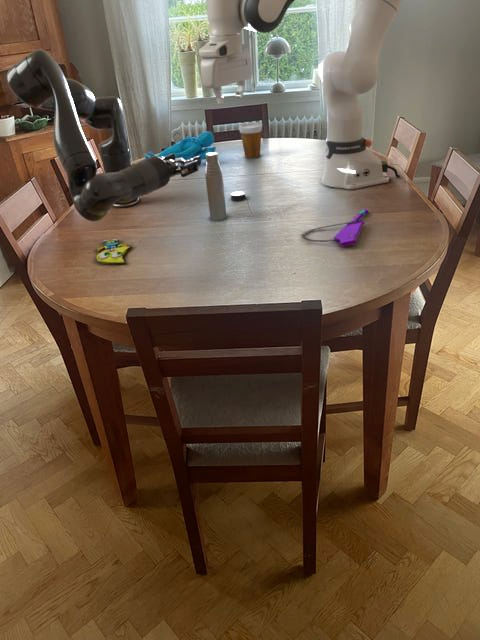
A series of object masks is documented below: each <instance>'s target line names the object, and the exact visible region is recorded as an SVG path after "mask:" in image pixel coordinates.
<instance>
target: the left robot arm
mask: <svg viewBox="0 0 480 640" xmlns="http://www.w3.org/2000/svg"><path fill="white" fill-rule="evenodd" d="M6 82H7V85H8V87H9V90H10V91H11V92H12V93H13V95H14V96H15V97H16V98H17V99H19V100H20V101H21V102H23V103H24V104H26V105H27V106H28V107H31V108H35V109H39V110H46V111H52V112H54V115H53V116H54V117H53V118H54V119H53V131H52V141H53V146H54V150H55V153H56V155H57V157H58V159H59V161H60V163H61V165H62V168H63V170H64V172H65V175H66V178H67V184H68V192H69V193H70V198H71V200H72V204H73V206H74V208H75V210H76V211H77V213H78V214H79V215H80V216H81V217H82V218H83V219H85V220H86V221H90V222H92V223H93V222H100V221H101V220H103V219H104V218H105V217H106V215H108V213H109V212H110V210H111V209H112V208H113V207H114V208H128V207H132V206H134V205H137V204H138V203H140V197H144V196H147V195H149V194H152V193H153V192H155V191H157V190H159V189H162V188H163V187H165V186H166V185H168V184H169V182H170V179H171V178H173V177H174V178H175V177H176V176H179V175H180V177H181V178H186V177H187V176H190V175H192V174H195V173H197V172H199V166H201V165H202V164H203V163H202V160H201V157H200V156H196V157H194V158H192V159H189V160H183V158H175V154H170V155H167V156H165V157H162V156H161V157H157V156H158V155H157V156H156V155H155V156H152V157H150V156H149V158H147V159H145V158H144V159H142V160H139V161H137V162H134V163H133V162H132V158H131V154H130V148H129V142H128V135H127V130H126V123H125V114H124V109H123V105H122V103H121V100H120V99H119V97H117V96H115V95H113V96H99V97H98V96H97V97H96V96H94V94H93V92H92V91H91V90H90V88H89V87H87V86H86V85H85V84H83V83H81V82H80V81H78V80H75V79H73V78H68V77H67V78H66V76H65V74H64V72H63V70H62V69H61V67H60V65H59V64H58V63H57V61H56V59H54V57H53V56H52V55H51V54H50V53H49V52H47V51H46V50H45V49H42V48H37V49H35V50H33V51H31V52H30V53H28V54H27V55H25V56H24V57H23V58H21V59H20V60H18V61H17V62H16V63H14V64H13V65H12V66H11V67H10V68H9V69H8V71H7V73H6ZM80 122H82V123H84V124H85V125H87V126H88V127H90V128H91V129H93V130H97V131H105V130H106V131H107V130H112V135H111V136H110V137H108V138H107V139H105V140H103V141H101V142H100V143H99V144H98V150H99V155H100V159H101V163H102V167H103V172H99V173H97V172H98V163H97V160H96V157H95V156H94V153H93V151H92V149H91V147H90V145H89V143H88V141H87V139H86V137H85V134H84V132H83V129H82V126H81V124H80ZM185 163H187V164H185ZM179 164H180V166H179Z"/></svg>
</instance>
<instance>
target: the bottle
mask: <svg viewBox="0 0 480 640" xmlns="http://www.w3.org/2000/svg"><path fill="white" fill-rule="evenodd" d="M205 160H206V162H205V171H204V175H205V177H204V178H205V185H206V191H207V192H206V194H207V203H208V212H209V218H210V219H209V220H211V221H216V222H217V221H223V220H226V219H227V216H228V215H227V206H226V197H225V186H224V185H225V184H224V176H223V170H222V167H221V164H220V161H219V153H218V152H216V151H215V152H211V153H207V154H206V159H205Z"/></svg>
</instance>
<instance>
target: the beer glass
mask: <svg viewBox="0 0 480 640" xmlns="http://www.w3.org/2000/svg"><path fill="white" fill-rule="evenodd" d="M262 131H263V126H262V124H261V123H245V124H241V125H240V126H239V133H240V137H241V142H242V147H243V152H244V157H245V158H248V159H249V158H251V159H252V158H253V159H254V158H258V157H260V156H261V144H262Z"/></svg>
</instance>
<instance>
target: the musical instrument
mask: <svg viewBox="0 0 480 640" xmlns="http://www.w3.org/2000/svg"><path fill="white" fill-rule="evenodd" d="M367 214H369V210H368V209H367V208H364V209H362V210H361V211H359V212H358V214H357V215H356V216H355V217H353V219H352V220H350V221H347V222H342V223H337V224H330V225H325V226H320V227H316V228H312V229H310V230H307V231H305V232H304V233H302V234H301V238H302V239H304V240H305V241H309V242H313V243H314V242H316V243H328V242H336V243H339V244H340V246H341V247H342V248H343V247H347V246H348V247H349V246H354V245H355V244H356V242H357V240H358V238H359V236H360V235H361V234H360V233H361V232H362V229H363V227H364V224H365V220H362V219H361V218H363V217H364V216H365V215H367ZM340 225H345V226H344V227H343V228H342V229H340V231H338V233H336V235H334V236H333V239H311V238H308V237H306V235H307V234H308V233H311V232H314V231H316V230H320V229H324V228H330V227H336V226H340Z"/></svg>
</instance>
